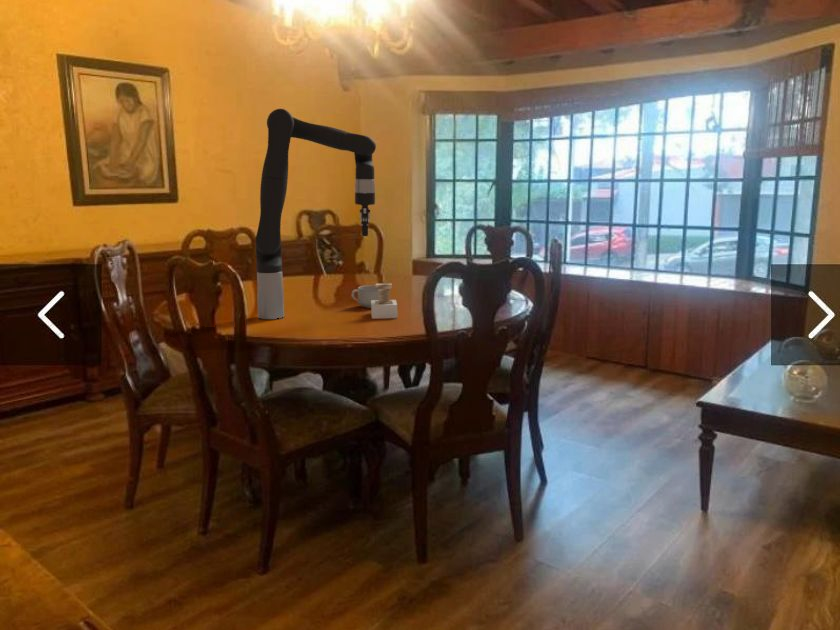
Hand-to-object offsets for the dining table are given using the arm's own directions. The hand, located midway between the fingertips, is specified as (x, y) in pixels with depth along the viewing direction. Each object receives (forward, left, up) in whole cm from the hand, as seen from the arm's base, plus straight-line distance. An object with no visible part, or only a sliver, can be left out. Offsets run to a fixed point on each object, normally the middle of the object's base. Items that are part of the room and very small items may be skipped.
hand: (365, 235), depth 254 cm
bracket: (+7, -7, -30) cm, 31 cm away
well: (+7, -7, -30) cm, 31 cm away
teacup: (+1, +12, -30) cm, 32 cm away
